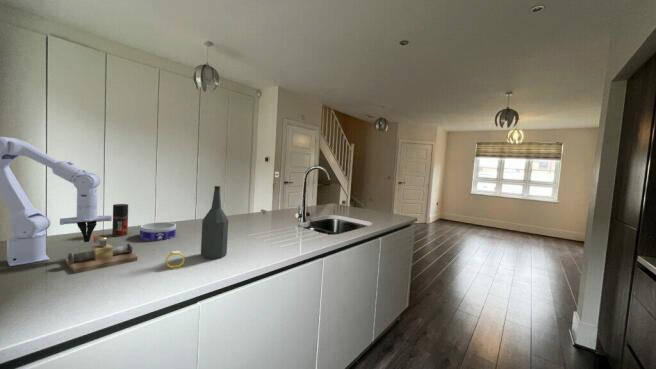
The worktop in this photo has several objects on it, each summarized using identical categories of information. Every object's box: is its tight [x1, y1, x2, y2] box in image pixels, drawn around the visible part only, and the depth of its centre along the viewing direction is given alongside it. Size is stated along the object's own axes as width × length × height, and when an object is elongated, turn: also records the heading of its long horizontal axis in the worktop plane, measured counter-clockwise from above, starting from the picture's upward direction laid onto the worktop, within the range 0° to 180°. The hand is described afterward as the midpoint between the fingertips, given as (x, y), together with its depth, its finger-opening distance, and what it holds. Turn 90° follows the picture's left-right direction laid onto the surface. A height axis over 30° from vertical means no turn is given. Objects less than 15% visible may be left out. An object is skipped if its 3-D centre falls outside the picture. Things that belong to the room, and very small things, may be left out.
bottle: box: [200, 185, 229, 260], centre depth 116 cm, size 10×10×30 cm
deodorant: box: [112, 203, 129, 238], centre depth 134 cm, size 6×6×15 cm
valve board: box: [63, 243, 138, 274], centre depth 102 cm, size 18×14×6 cm
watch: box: [165, 250, 185, 269], centre depth 102 cm, size 6×3×6 cm, turn 122°
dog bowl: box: [139, 221, 177, 242], centre depth 137 cm, size 15×15×6 cm
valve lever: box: [90, 233, 108, 247], centre depth 104 cm, size 11×3×3 cm, turn 54°
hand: (86, 241), depth 103 cm, fingers closed
